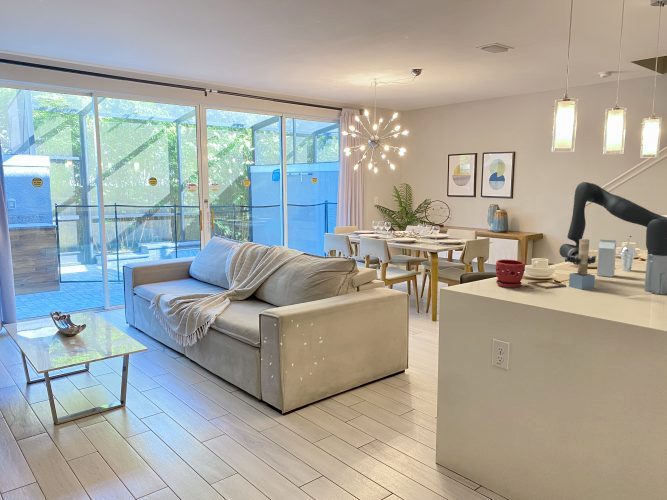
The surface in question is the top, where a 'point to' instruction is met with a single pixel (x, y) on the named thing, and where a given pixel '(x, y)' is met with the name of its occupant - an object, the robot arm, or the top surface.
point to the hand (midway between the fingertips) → (584, 261)
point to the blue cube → (581, 281)
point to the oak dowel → (583, 257)
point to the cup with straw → (627, 257)
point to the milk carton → (606, 258)
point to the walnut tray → (547, 286)
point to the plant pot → (509, 273)
